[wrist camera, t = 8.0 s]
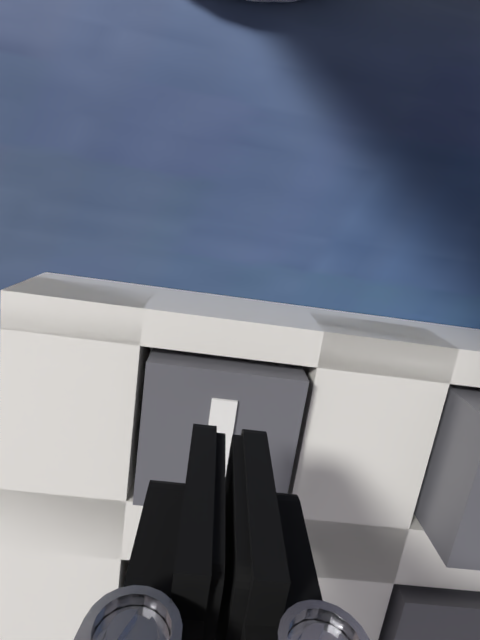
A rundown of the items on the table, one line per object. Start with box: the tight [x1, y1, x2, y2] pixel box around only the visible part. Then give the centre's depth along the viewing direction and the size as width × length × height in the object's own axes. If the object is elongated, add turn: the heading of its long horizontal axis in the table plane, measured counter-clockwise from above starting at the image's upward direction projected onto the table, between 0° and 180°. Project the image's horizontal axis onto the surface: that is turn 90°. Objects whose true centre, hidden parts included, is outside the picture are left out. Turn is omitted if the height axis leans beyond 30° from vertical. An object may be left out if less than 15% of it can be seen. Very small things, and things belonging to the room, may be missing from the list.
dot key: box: [378, 584, 480, 640], centre depth 18 cm, size 5×5×3 cm
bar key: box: [133, 348, 309, 506], centre depth 16 cm, size 5×5×3 cm
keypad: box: [0, 272, 480, 640], centre depth 18 cm, size 16×24×4 cm, turn 82°
